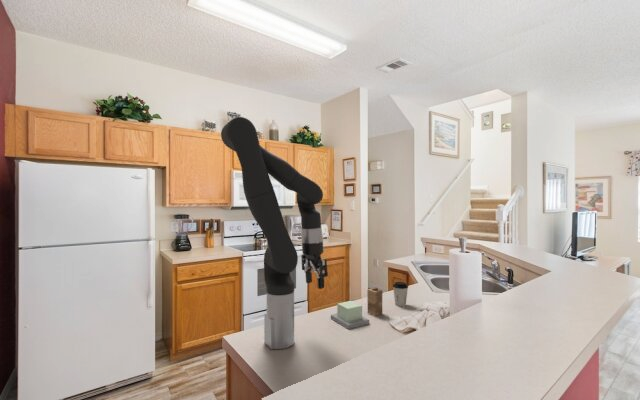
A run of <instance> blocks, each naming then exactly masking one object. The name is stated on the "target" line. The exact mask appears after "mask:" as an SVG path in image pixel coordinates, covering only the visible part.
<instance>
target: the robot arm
mask: <svg viewBox="0 0 640 400" xmlns="http://www.w3.org/2000/svg"><path fill="white" fill-rule="evenodd" d="M256 129H257V128H256V126H255V125H254V124H253V122H252V121H251V120H250V119H248V118H247V117H244V116H236V117H234V118H232V119H231V120H229V122H227V123H226V124H225V125H224V126H223V127H222V129H221V133H220V137H221V140H222V143H223V144H224V145H225V146H226V147H227V148H229V149H230V150H232V151H234V152H235V153H236V156H237V158H238V161H239V164H240V168H241V176H242V186H243V187H242V189H243V193H244V196H245V200H246V202H247V206H248V208H249V211H250V212H251V215H252V217H253V219H254V220H255V222H256V223H257V225H258V227H259V228H260V229H261V231H262V232H263V235H264V236H265V239H266V241H267V244H268V247H266V249H265V251H264V256H263V273H264V274H263V275H264V276H263V277H264V283H265V286H266V287H265V288H266V313H264V315H263V316H264V317H263V319H264V321H263V322H264V324H263V325H264V327H263V328H264V329H263V330H264V333H263V334H264V336H263V337H264V338H263V339H264V340H263V341H264V344H265V345H267V347H268V348H269V349H270V350H282V349H283V350H284V349H288V348H290V347H292V346H293V345H294V344H295V283H294V281H293V279H292V277H291V274H290V273H292V272H293V271H294V270H295V269H297V268H296V267H297V266H298V262H299V261H298V259H299V258H298V252H297V250H296V247H295V245H294V243H293V241H292V239H291V235H290V234H289V232H288V230H287V227H286V224H285V220H284V217H283V213H282V211H281V208H280V205H279V201H278V197H277V194H276V192H275V189H274V187H273V183H272V181H271V178H270V177H272V178H273V179H275V180H276V181H277V182H278V183H279V184H280V185H282V186H283V187H285V189H287V190H289V191H292V192H295V193H296V204H297V207H298V210H299V213H300V218H301V219H300V221H301V234H300V235H301V250H302V252H301V253H302V254H301V270H302V271H304V274H305V282H306V284H310V283H311V284H312V282H313V276H312V275H313V274H312V270H313V273H314V274H316V278H317V280H316V281H317V289H319V290H322V289H324V288H325V278H326V277H328V276H329V273H328V272H329V271H328V262H327V259H326V258H322V254H323V253H324V239H323V238H324V237H323V236H324V235H323V229H322V218H321V213H320V212H319V211H318V210H317V209H316V205H318V204H319V203H321V202H322V200H323V197H324V192H323V190H322V188H321V186H320V185H319V184H317V183H316V182H315V181H314V180H311V179H310V178H308V177H307V176H304V175H303V174H301V173H300V172H299V171H298V170H297V169H296V168H294V166H292V165H291V164H290V163H288V162H287V161H286V160H285V159H283V158H281V157H279V156H278V155H276V154H274V153H273V152H270V151H269V150H267V149H266V148H264V147H263V146H262V145H260V141H259V135H258V131H257V130H256Z"/></svg>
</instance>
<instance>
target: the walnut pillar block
mask: <svg viewBox="0 0 640 400" xmlns="http://www.w3.org/2000/svg"><path fill="white" fill-rule="evenodd" d="M367 314H369V315H371V316H373V317H376V316H381V315H383V289H379V288H378V287H376V286H374V287H371V288H368V289H367Z"/></svg>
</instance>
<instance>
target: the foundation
mask: <svg viewBox="0 0 640 400" xmlns="http://www.w3.org/2000/svg"><path fill="white" fill-rule="evenodd" d="M336 306H337V308H336V309H337V310H336V311H337V312H336V313H333V314H330V319H331V320H332V321H334V322H335V323H338V324H339V325H341V326H343V327H344V328H346V329H347V330H351V329H355V328H358V327H362V326H366V325H369V324H370V319H369V318H367V317H365V316H363V305H361V304H359V303H357V302H355V301H353V300H348V301H344V302H339V303H336Z"/></svg>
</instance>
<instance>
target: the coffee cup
mask: <svg viewBox="0 0 640 400" xmlns="http://www.w3.org/2000/svg"><path fill="white" fill-rule="evenodd" d="M408 288H409V285H408V284H407V283H406V282H403V281H395V282H394V283H393V284H392V289H393V295H394V296H393V297H394V304H395V306H396V307H399V308H400V307H401V308H402V307H406V305H407V297H408V290H409V289H408Z"/></svg>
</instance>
